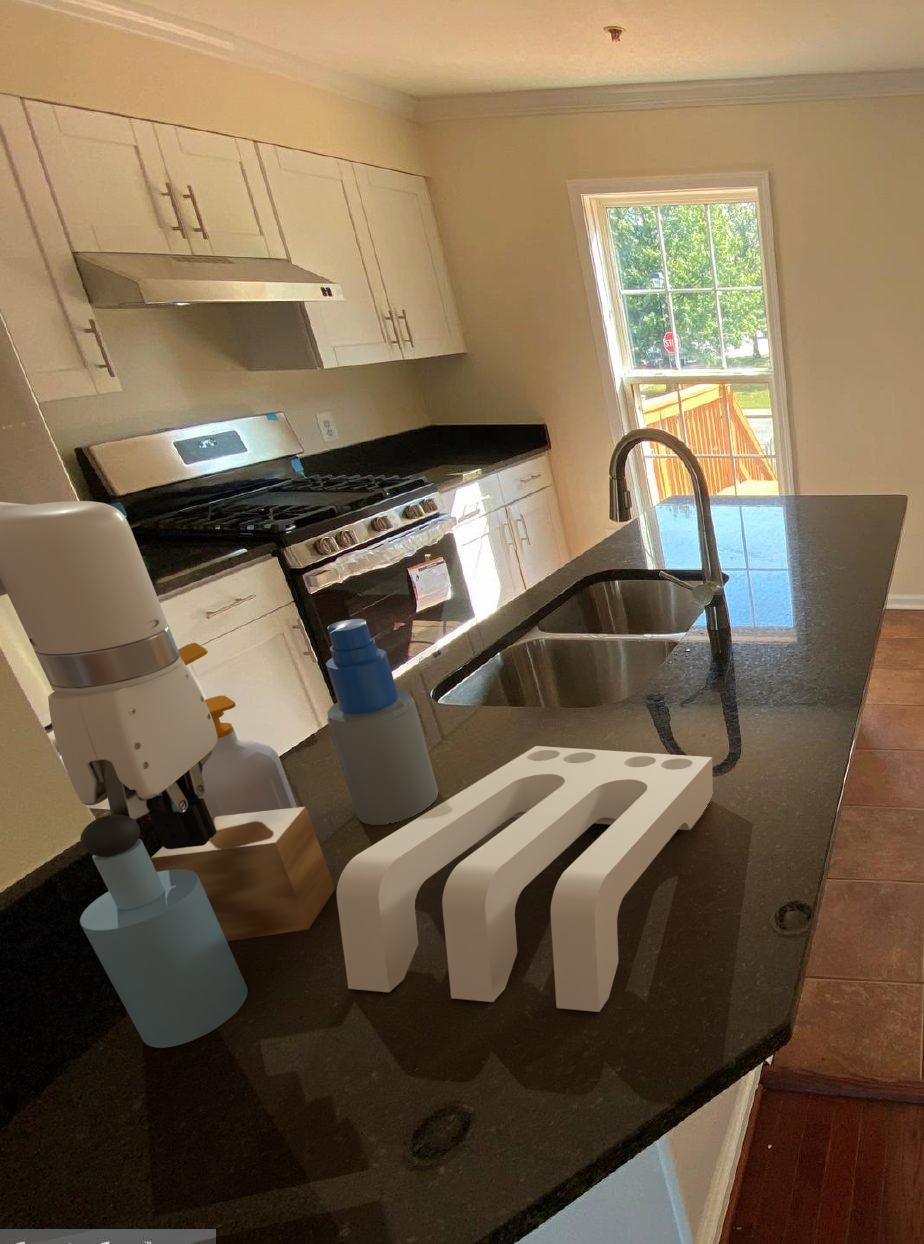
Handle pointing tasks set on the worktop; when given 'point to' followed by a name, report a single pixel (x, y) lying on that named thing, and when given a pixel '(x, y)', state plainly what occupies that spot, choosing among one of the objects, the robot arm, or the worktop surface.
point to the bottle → (158, 940)
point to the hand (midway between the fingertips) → (191, 841)
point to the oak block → (258, 872)
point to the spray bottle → (376, 730)
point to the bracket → (521, 869)
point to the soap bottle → (239, 764)
